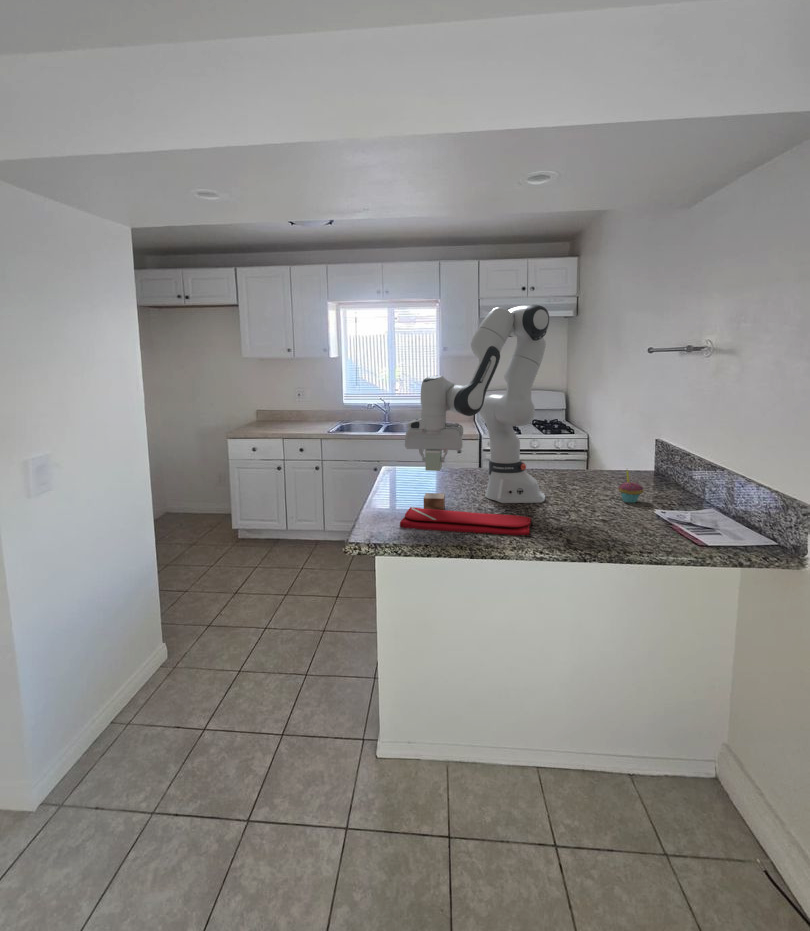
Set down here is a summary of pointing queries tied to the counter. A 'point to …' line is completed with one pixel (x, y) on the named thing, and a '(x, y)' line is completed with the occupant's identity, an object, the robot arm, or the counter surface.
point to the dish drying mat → (465, 522)
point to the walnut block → (434, 501)
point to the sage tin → (433, 460)
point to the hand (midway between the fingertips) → (433, 461)
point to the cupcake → (630, 490)
